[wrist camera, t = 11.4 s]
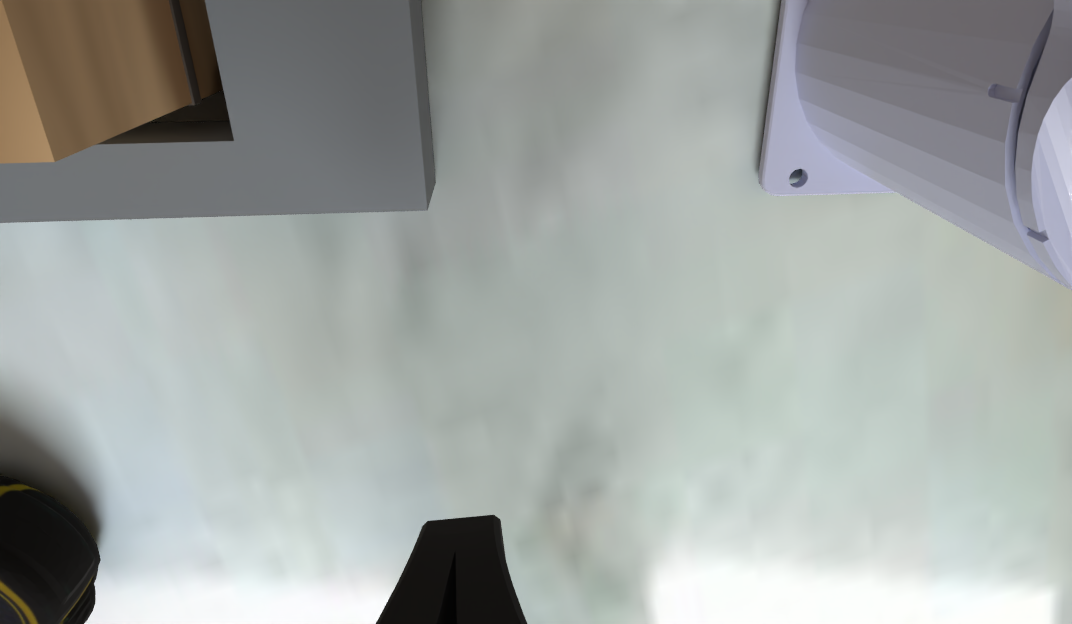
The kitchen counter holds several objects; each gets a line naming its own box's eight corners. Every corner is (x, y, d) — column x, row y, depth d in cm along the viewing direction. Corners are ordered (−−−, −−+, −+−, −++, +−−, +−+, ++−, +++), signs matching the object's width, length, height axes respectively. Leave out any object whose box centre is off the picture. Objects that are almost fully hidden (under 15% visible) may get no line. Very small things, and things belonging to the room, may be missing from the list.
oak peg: (199, -97, 16) (-45, -152, 9) (236, 86, 18) (59, 165, 11) (17, -95, 16) (-379, -149, 9) (74, 91, 18) (-217, 172, 10)
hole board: (403, -219, 15) (386, -252, 13) (435, 182, 19) (427, 210, 17) (-261, -216, 15) (-398, -249, 12) (-85, 196, 19) (-164, 227, 16)
